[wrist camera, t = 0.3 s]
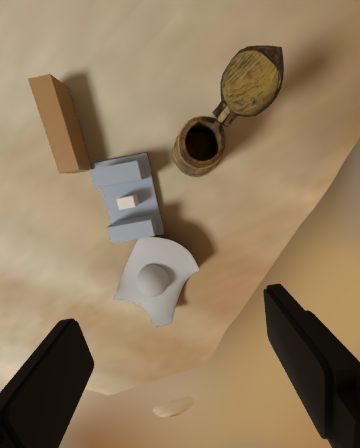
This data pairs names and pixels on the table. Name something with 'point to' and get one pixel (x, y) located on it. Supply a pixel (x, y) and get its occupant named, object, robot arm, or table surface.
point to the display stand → (129, 197)
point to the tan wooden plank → (60, 124)
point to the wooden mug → (230, 107)
